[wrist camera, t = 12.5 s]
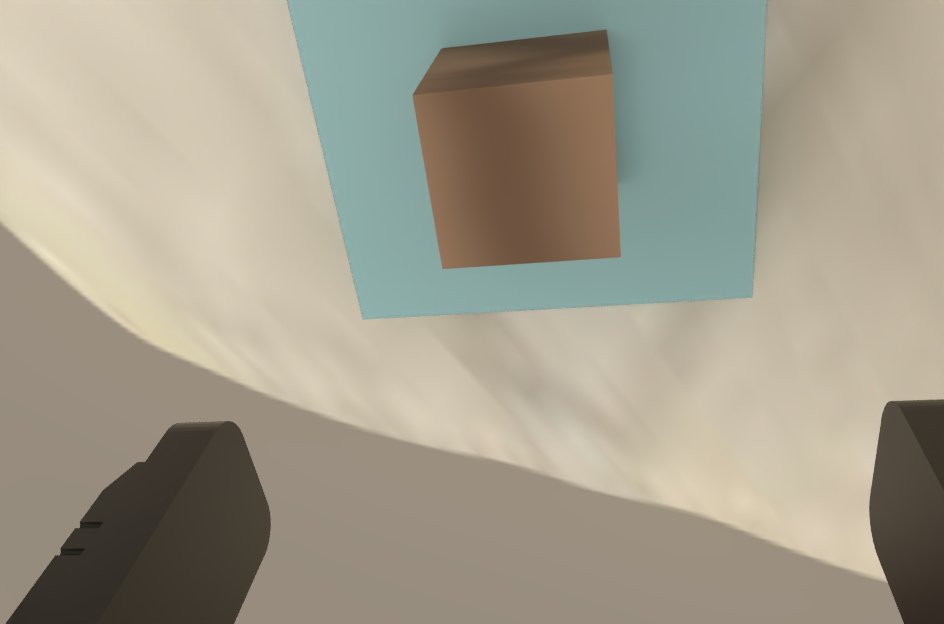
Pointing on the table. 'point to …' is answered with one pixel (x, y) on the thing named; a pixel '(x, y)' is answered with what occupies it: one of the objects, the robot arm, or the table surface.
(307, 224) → the table surface
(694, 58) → the teal board
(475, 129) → the walnut cube
